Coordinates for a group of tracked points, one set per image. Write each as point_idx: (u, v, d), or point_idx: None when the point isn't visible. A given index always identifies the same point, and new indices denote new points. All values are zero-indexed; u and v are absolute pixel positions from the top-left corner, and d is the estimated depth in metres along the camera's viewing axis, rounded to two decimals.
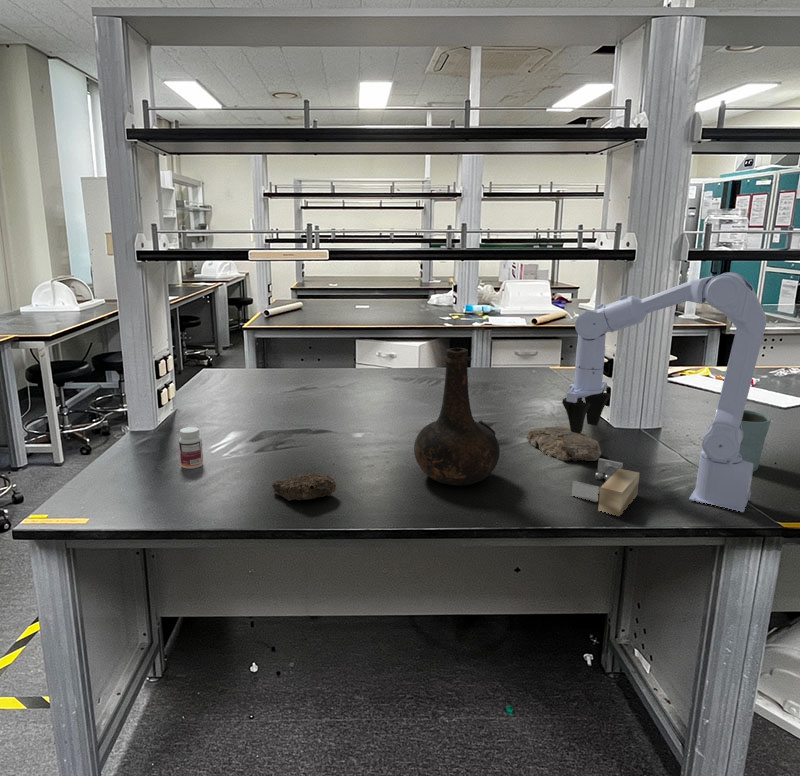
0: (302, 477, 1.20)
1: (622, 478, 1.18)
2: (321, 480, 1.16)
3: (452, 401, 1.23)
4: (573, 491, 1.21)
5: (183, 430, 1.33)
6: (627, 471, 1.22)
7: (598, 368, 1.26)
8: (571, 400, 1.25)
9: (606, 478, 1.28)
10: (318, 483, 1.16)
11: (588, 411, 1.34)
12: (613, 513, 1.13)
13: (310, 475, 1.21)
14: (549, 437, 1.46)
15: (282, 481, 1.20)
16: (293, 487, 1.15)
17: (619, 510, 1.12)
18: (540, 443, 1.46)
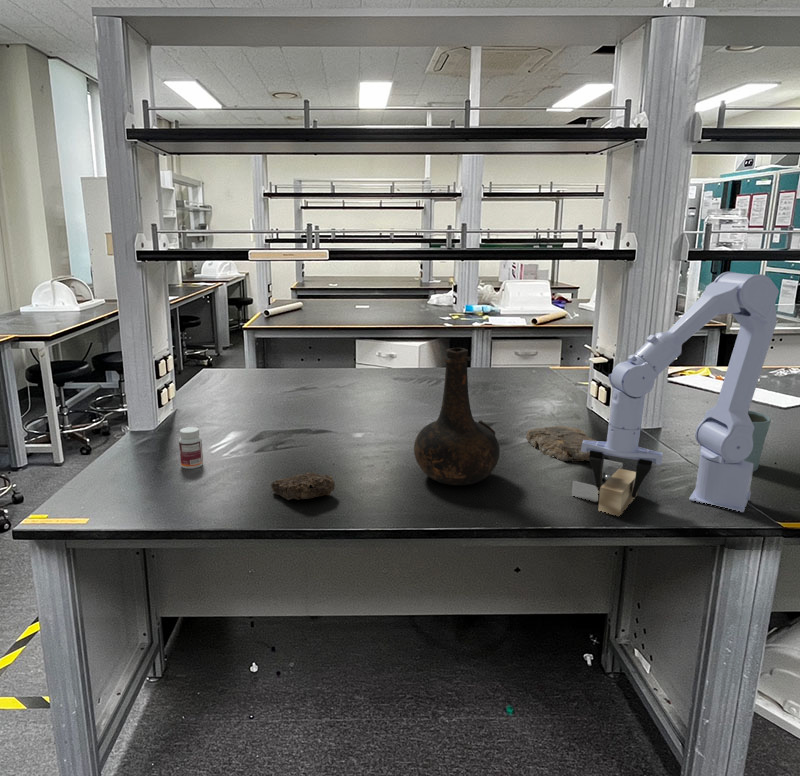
0: (301, 476, 1.20)
1: (622, 478, 1.18)
2: (320, 479, 1.16)
3: (452, 401, 1.23)
4: (573, 491, 1.21)
5: (183, 430, 1.33)
6: (627, 471, 1.22)
7: (640, 426, 1.13)
8: None
9: (606, 478, 1.28)
10: (317, 482, 1.16)
11: None
12: (613, 513, 1.13)
13: (309, 474, 1.21)
14: (549, 437, 1.46)
15: (281, 480, 1.20)
16: (292, 486, 1.15)
17: (619, 510, 1.12)
18: (540, 443, 1.46)
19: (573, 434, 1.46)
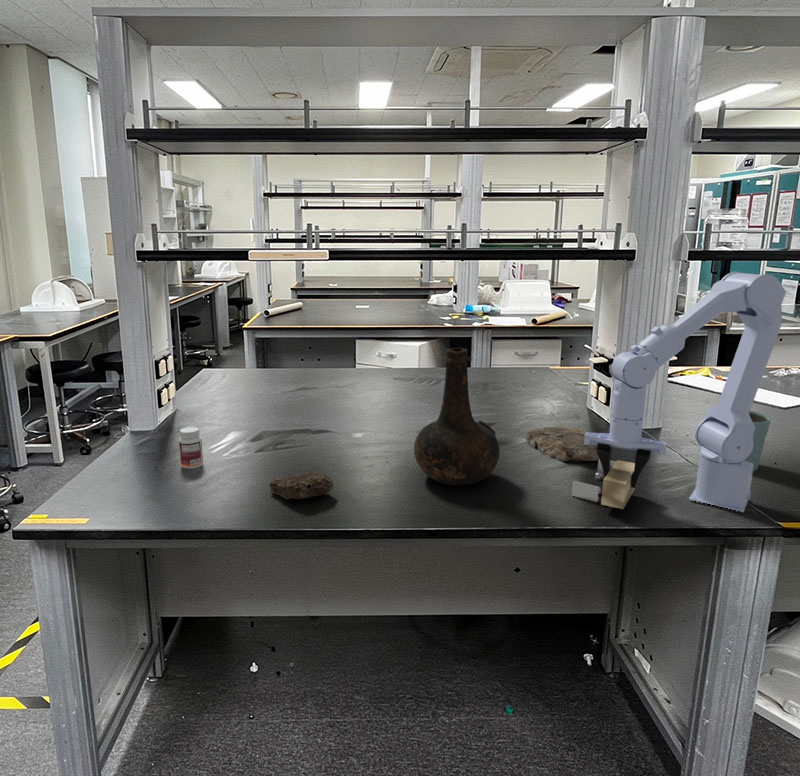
0: (299, 476, 1.20)
1: (622, 469, 1.18)
2: (318, 479, 1.17)
3: (452, 401, 1.23)
4: (573, 491, 1.21)
5: (183, 430, 1.33)
6: (626, 462, 1.21)
7: None
8: None
9: None
10: (315, 482, 1.16)
11: None
12: (617, 505, 1.12)
13: (307, 474, 1.22)
14: (548, 437, 1.46)
15: (279, 480, 1.20)
16: (290, 486, 1.16)
17: (623, 502, 1.12)
18: (539, 443, 1.46)
19: (572, 434, 1.46)
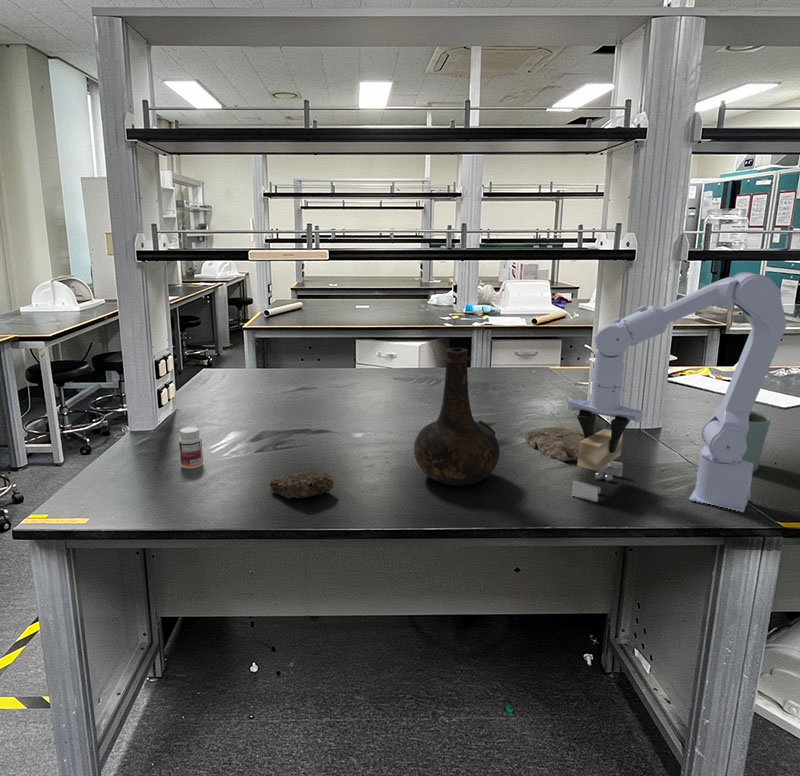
0: (299, 475, 1.21)
1: (603, 436, 1.25)
2: (319, 478, 1.17)
3: (452, 401, 1.23)
4: (573, 491, 1.21)
5: (183, 430, 1.33)
6: None
7: (619, 386, 1.19)
8: None
9: (606, 478, 1.28)
10: (316, 481, 1.17)
11: None
12: (590, 466, 1.20)
13: (307, 473, 1.22)
14: (548, 438, 1.46)
15: (279, 479, 1.21)
16: (292, 485, 1.16)
17: (596, 463, 1.19)
18: (539, 444, 1.46)
19: (572, 434, 1.46)
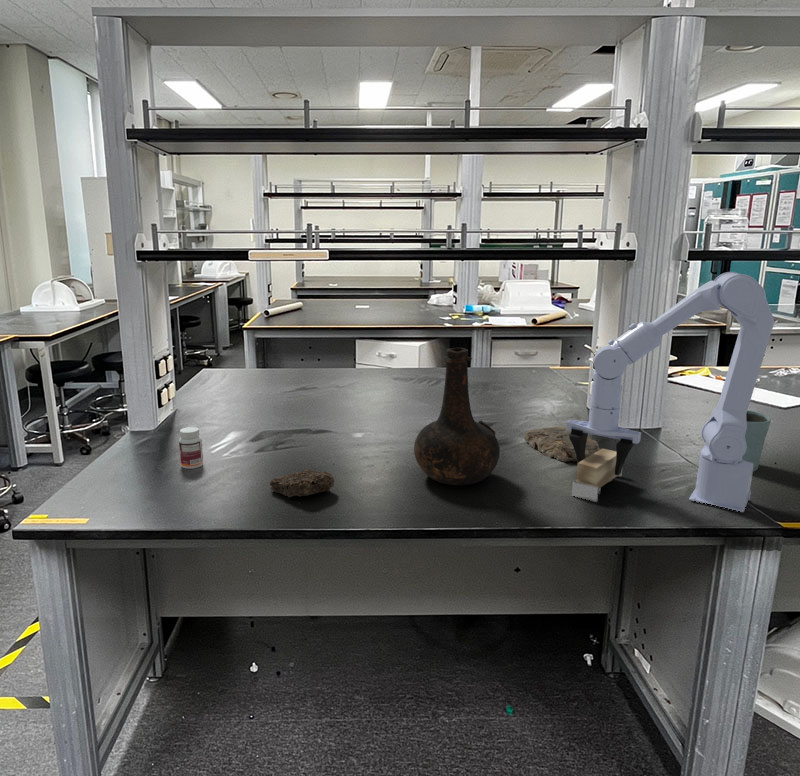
0: (300, 474, 1.21)
1: (601, 456, 1.26)
2: (321, 476, 1.18)
3: (452, 401, 1.23)
4: (573, 491, 1.21)
5: (183, 430, 1.33)
6: (609, 451, 1.29)
7: (617, 408, 1.20)
8: None
9: None
10: (318, 479, 1.18)
11: None
12: None
13: (307, 471, 1.23)
14: (548, 438, 1.45)
15: (280, 478, 1.21)
16: (294, 484, 1.17)
17: (594, 485, 1.20)
18: (539, 444, 1.46)
19: None
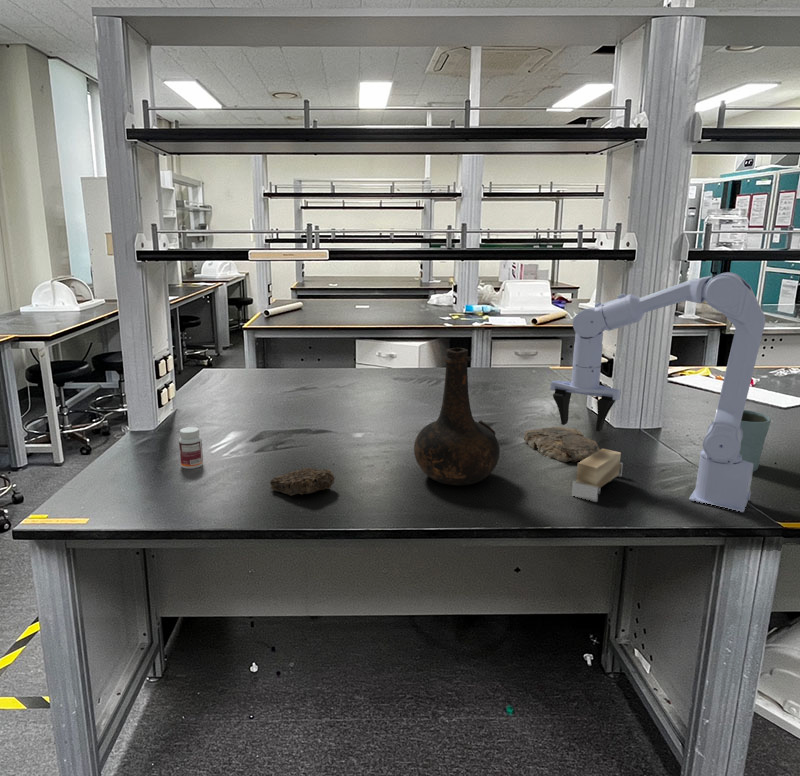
0: (300, 472, 1.22)
1: (601, 456, 1.26)
2: (322, 473, 1.20)
3: (452, 401, 1.23)
4: (573, 491, 1.21)
5: (183, 430, 1.33)
6: (609, 451, 1.29)
7: (596, 366, 1.26)
8: None
9: None
10: (320, 476, 1.19)
11: None
12: None
13: (306, 470, 1.24)
14: (548, 438, 1.45)
15: (280, 477, 1.22)
16: (296, 482, 1.18)
17: (594, 485, 1.20)
18: (539, 444, 1.45)
19: (571, 435, 1.45)
